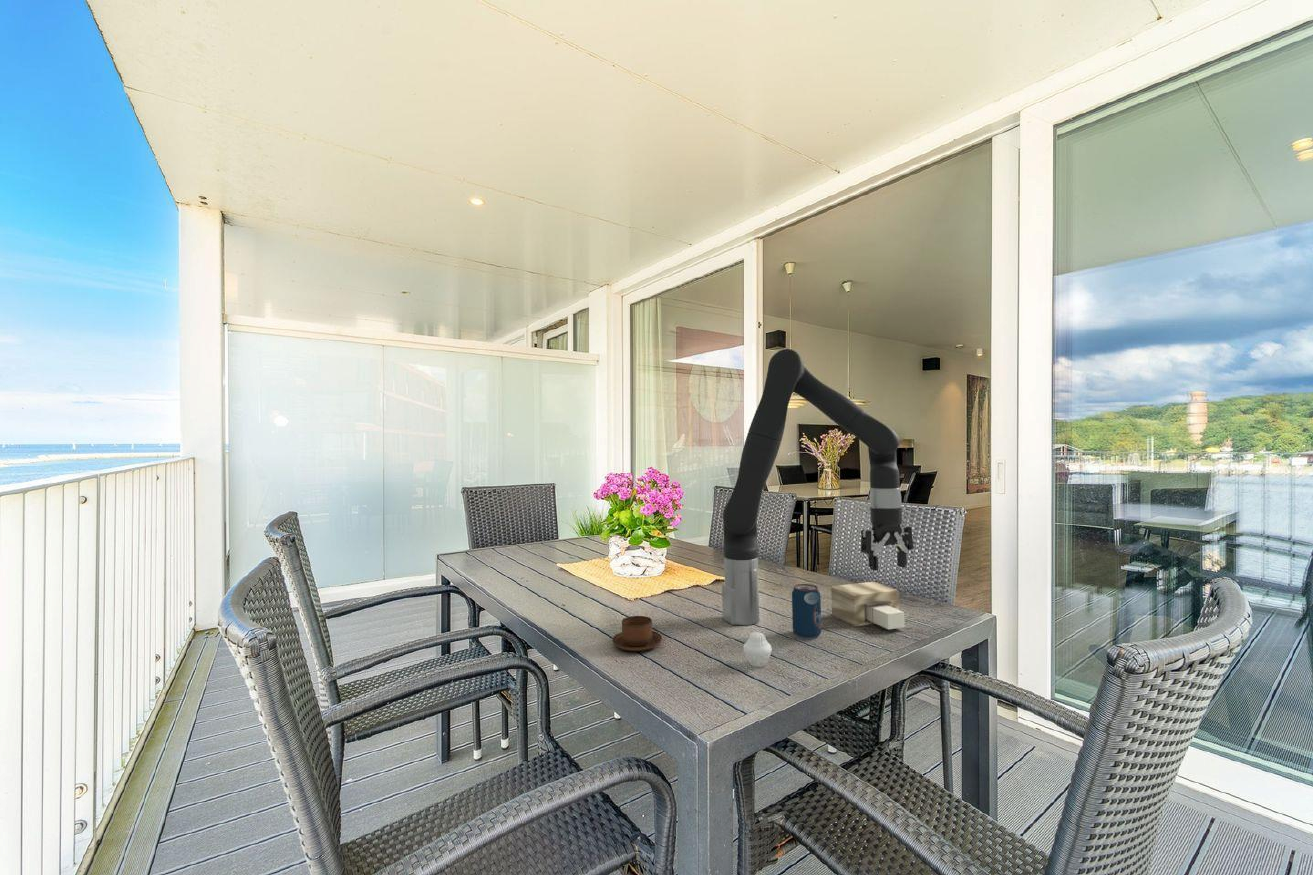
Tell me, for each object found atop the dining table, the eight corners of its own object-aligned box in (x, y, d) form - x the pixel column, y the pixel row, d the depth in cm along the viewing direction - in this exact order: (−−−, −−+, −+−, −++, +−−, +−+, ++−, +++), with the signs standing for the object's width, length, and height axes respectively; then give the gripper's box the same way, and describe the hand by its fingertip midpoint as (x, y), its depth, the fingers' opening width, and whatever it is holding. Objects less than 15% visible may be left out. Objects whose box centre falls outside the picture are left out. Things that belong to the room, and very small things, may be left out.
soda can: (823, 640, 129) (821, 590, 129) (793, 639, 130) (792, 589, 130) (820, 630, 136) (818, 583, 136) (792, 629, 137) (790, 582, 137)
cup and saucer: (606, 642, 131) (605, 617, 132) (650, 634, 136) (650, 610, 136) (622, 659, 120) (621, 631, 121) (670, 650, 125) (669, 624, 125)
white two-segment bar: (888, 629, 133) (887, 613, 133) (851, 612, 147) (850, 598, 147) (904, 627, 134) (904, 611, 134) (866, 610, 148) (866, 596, 148)
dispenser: (857, 627, 137) (856, 596, 138) (831, 615, 148) (831, 586, 148) (901, 621, 141) (900, 590, 142) (873, 609, 152) (873, 581, 152)
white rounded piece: (753, 672, 112) (753, 638, 112) (738, 661, 117) (737, 629, 117) (778, 666, 114) (777, 634, 114) (761, 656, 120) (760, 625, 120)
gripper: (897, 502, 142) (900, 563, 142) (852, 505, 138) (855, 568, 138) (919, 505, 135) (921, 568, 135) (872, 508, 131) (874, 574, 131)
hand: (888, 568), depth 136 cm, fingers open, 8 cm apart
